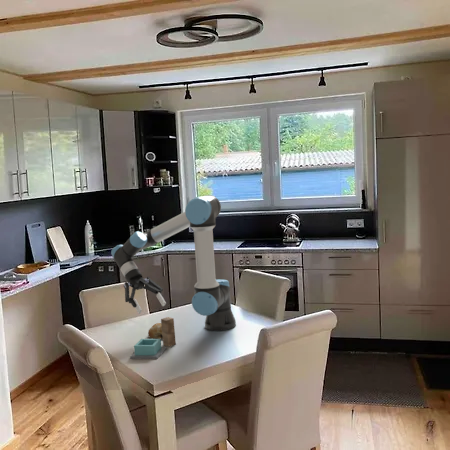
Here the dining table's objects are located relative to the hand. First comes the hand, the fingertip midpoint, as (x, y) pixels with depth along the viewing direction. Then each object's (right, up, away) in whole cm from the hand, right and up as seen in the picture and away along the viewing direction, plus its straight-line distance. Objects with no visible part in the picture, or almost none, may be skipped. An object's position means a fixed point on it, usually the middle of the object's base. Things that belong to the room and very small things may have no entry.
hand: (152, 308), depth 239 cm
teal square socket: (0, -17, -15) cm, 23 cm away
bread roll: (+2, -15, +8) cm, 17 cm away
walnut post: (+8, -15, -6) cm, 18 cm away
